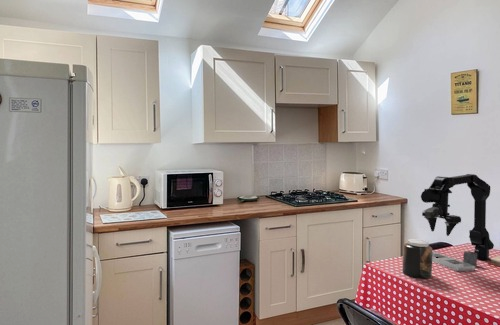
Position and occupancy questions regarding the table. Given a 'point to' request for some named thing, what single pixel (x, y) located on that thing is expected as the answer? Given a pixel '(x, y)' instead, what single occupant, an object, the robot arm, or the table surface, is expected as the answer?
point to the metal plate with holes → (451, 262)
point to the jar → (417, 259)
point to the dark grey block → (470, 258)
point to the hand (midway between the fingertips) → (440, 233)
